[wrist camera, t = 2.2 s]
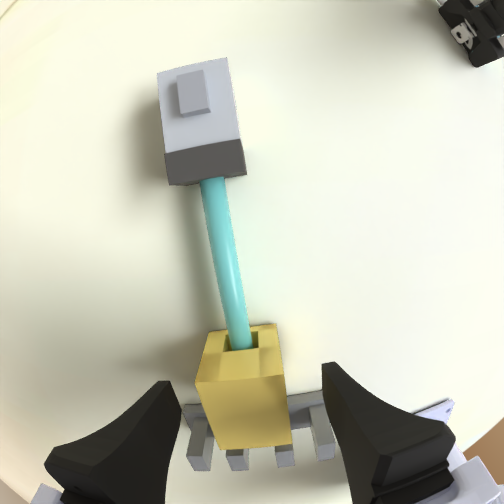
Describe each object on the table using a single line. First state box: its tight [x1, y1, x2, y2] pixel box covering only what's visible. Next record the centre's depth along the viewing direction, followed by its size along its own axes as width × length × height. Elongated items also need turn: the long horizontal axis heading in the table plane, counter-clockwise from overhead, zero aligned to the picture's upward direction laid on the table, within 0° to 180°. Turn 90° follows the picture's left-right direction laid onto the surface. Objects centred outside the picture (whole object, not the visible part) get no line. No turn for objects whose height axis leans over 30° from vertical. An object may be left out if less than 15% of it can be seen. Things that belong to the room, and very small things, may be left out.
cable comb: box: [183, 390, 335, 471], centre depth 14 cm, size 2×9×4 cm, turn 99°
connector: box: [157, 57, 243, 153], centre depth 10 cm, size 4×3×3 cm
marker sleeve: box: [195, 323, 292, 450], centre depth 12 cm, size 4×3×4 cm
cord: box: [199, 177, 254, 351], centre depth 12 cm, size 16×1×1 cm, turn 9°
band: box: [164, 139, 247, 186], centre depth 11 cm, size 1×3×3 cm, turn 99°
